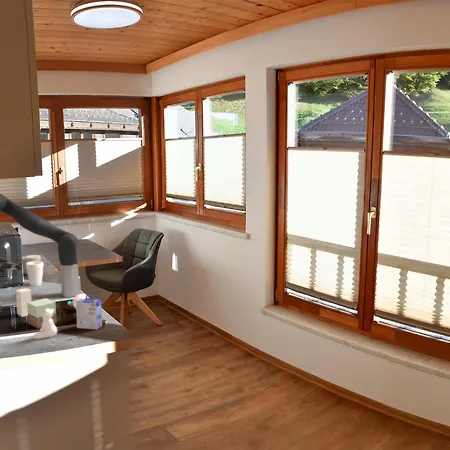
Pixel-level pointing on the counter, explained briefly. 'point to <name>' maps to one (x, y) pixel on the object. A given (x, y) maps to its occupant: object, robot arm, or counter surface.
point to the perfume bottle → (76, 299)
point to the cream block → (23, 301)
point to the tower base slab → (39, 320)
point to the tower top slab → (40, 307)
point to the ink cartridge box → (89, 313)
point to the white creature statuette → (47, 325)
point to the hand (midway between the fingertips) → (11, 269)
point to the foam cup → (35, 272)
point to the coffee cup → (32, 258)
